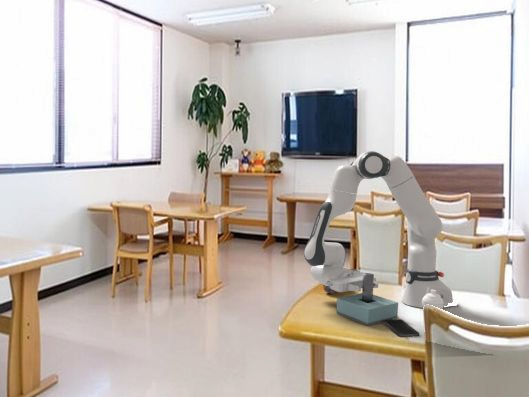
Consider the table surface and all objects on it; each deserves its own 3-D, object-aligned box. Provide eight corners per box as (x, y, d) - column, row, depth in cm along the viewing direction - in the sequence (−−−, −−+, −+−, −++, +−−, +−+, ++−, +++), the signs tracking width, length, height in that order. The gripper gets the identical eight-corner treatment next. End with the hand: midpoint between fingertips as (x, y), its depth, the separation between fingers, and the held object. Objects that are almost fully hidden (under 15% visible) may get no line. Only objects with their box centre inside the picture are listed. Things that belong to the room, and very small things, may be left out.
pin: (369, 311, 192) (370, 272, 190) (373, 314, 188) (375, 275, 187) (359, 311, 191) (361, 273, 189) (364, 315, 187) (365, 275, 186)
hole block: (365, 306, 200) (366, 292, 200) (397, 318, 188) (398, 302, 187) (336, 313, 191) (337, 298, 191) (367, 325, 178) (368, 309, 178)
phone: (399, 335, 168) (381, 320, 183) (399, 338, 168) (381, 323, 183) (421, 334, 169) (401, 319, 184) (420, 337, 169) (401, 322, 184)
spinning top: (417, 321, 184) (418, 289, 183) (426, 317, 190) (428, 286, 189) (437, 326, 179) (439, 294, 178) (446, 321, 185) (447, 290, 184)
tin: (327, 295, 216) (327, 276, 215) (321, 293, 218) (322, 274, 217) (348, 289, 226) (349, 271, 225) (343, 288, 228) (344, 270, 227)
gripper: (323, 274, 193) (349, 282, 182) (360, 268, 205) (386, 276, 194) (322, 290, 194) (348, 299, 182) (359, 283, 205) (386, 292, 194)
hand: (368, 287), depth 188 cm, fingers open, 8 cm apart
